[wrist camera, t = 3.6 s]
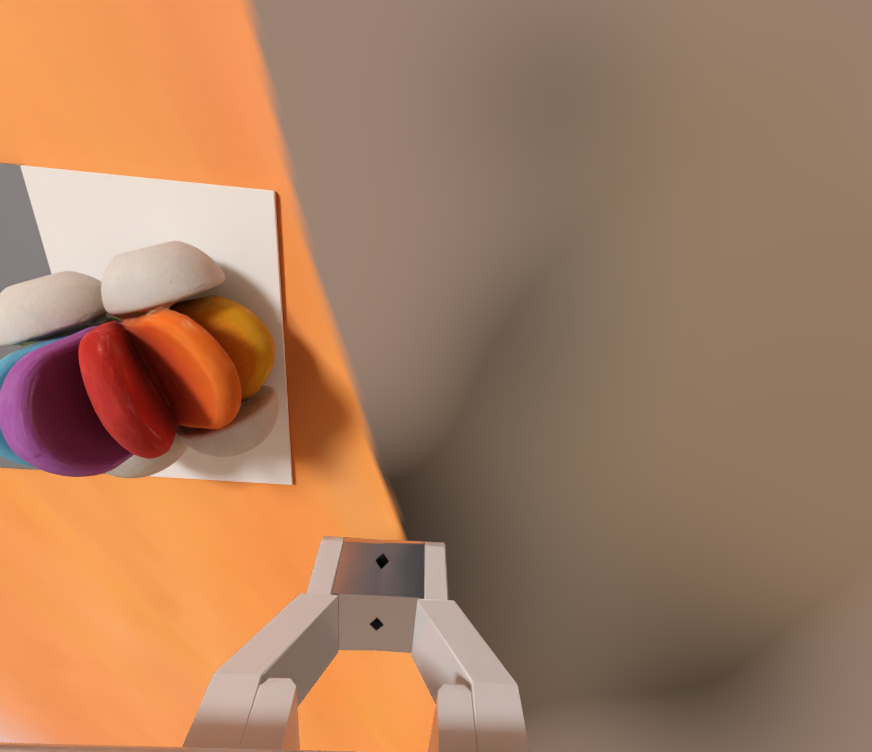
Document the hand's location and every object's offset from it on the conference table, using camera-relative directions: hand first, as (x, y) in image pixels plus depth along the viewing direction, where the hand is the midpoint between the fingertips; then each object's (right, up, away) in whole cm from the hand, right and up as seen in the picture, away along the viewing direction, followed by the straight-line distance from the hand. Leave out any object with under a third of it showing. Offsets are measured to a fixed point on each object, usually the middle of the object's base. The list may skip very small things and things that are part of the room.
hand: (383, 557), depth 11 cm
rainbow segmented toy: (-10, +6, +8) cm, 14 cm away
